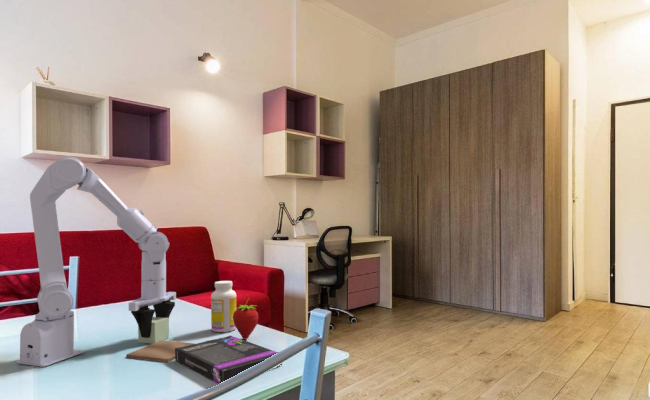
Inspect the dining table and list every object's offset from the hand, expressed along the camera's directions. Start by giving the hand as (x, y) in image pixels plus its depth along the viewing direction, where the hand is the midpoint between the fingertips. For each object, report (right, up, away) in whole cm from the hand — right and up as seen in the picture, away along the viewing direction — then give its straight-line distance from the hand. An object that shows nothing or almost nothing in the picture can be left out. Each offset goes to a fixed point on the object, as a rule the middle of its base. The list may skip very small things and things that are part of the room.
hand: (153, 334), depth 104 cm
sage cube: (0, -1, 0) cm, 1 cm away
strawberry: (+23, -1, 0) cm, 23 cm away
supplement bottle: (+16, -2, +8) cm, 18 cm away
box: (+22, -1, -18) cm, 29 cm away
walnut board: (+6, -1, -10) cm, 11 cm away
